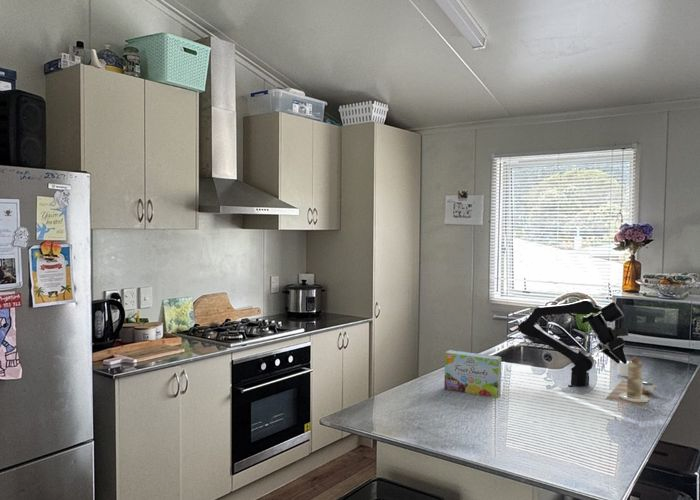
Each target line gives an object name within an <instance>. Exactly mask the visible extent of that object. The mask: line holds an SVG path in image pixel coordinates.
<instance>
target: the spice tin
mask: <svg viewBox="0 0 700 500" xmlns="http://www.w3.org/2000/svg"><path fill="white" fill-rule="evenodd" d="M641 383H642V391H641V393H642V394H646V395H651V396H652V395H654V391H653V385H654V386H655V384H654V382H653V381H650V380H641Z"/></svg>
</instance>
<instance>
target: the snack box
mask: <svg viewBox="0 0 700 500" xmlns="http://www.w3.org/2000/svg"><path fill="white" fill-rule="evenodd" d="M501 382H502V356H496V355H489V354H484V353H483V354H482V353H475V352H468V351H459V350H453V349H449V350H447V351H445V352H444V382H443V389H444V390H449V391H455V392H461V393H466V394H471V395H479V396H485V397H490V398H495V399H497V398H499V396H500V395H501Z"/></svg>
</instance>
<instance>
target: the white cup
mask: <svg viewBox="0 0 700 500" xmlns="http://www.w3.org/2000/svg"><path fill="white" fill-rule="evenodd" d="M626 361H627V363H626V364H624V363H622V362H621V361H620V363H616V364H617V365H616V367H617V375H618V376H621V377H627V378H628V362H629V361H630V360H626Z"/></svg>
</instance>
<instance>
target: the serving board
mask: <svg viewBox="0 0 700 500" xmlns="http://www.w3.org/2000/svg"><path fill="white" fill-rule="evenodd" d="M627 382H628V380H621V381H620V382H619V383H618V384H617V386H616V387H615V388H613V390H612V391H611V392H610V393H609V394H608V395H607V396H606V397H605V400H608V401H613V402H617V403H618V402H619V403H625V404H631V405H634V406H641V407H644V406H645V405H646V404H647V402H644V403H639V402H631V401H626V400H623V399H621V398H620V397H619V394H622V393H627ZM656 388H657V385H655V384H654V385H653V392H654V391H655V389H656ZM641 391H642V382H641ZM641 395H643V396H646V397H647V398H649V399H650V397H651V396H652V395H646V394H642V393H641Z"/></svg>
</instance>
